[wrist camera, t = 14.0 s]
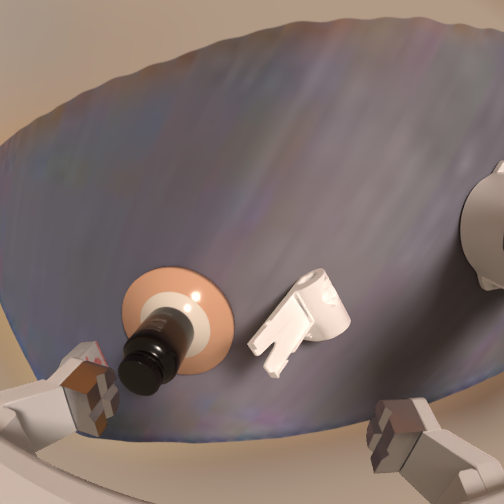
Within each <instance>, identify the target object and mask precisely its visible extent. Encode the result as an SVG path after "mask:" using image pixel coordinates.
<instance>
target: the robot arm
mask: <svg viewBox="0 0 504 504" xmlns="http://www.w3.org/2000/svg"><path fill="white" fill-rule="evenodd" d="M460 235H461V243H462V248H463V251H464V254H465V256H466V258H467V260H468V262H469V263H470V265H471V266H472V267H473V268H474V269H475V271H476V273H477V276H478V280H479V284H480V286H481V288H482V289H484V290H486V291H489V290H494V289H499V288H502V289H504V161H503V160H502V161H500V162H499V163H498V164H497V166H496V167H495V169H494V171H493V172H492V174H491V175H489V176H488V177H486V178H484V179H483V180H481V181H480V182H479V183H478V184H477V185H476V186H475V187H474V188H473V190H472V191H471V193H470V194H469V196H468V198H467V200H466V203H465V205H464V209H463V212H462V217H461V226H460ZM115 380H116V375H115V370H113V369H112V368H110V367H107V366H103V365H100V364H97V363H93V362H90V361H86V360H83V359H80V358H77V357H71V358H70V359H69V360H68V361H67V362H66V363H65V364H64V365H63V366H61V367H60V368H59V369H58V370H57V371H56V372H55V373H54V374H53V375H52V376H51V377H50V378H49V379H48V380H47V381H46V380H39V381H36V382H32V383H29V384H25V385H21V386H18V387H14V388H11V389H6V390H3V391H0V504H154V503H151V502H147V501H144V500H140V499H137V498H134V497H131V496H128V495H124V494H122V493H119V492H116V491H113V490H110V489H107V488H104V487H102V486H99V485H97V484H94V483H92V482H89V481H87V480H84V479H82V478H80V477H77V476H75V475H73V474H70V473H68V472H66V471H64V470H62V469H59V468H57V467H55V466H53V465H51V464H49V463H47V462H45V461H43V460H41V459H39V458H38V457H37V455H36V453H35V452H37V451H38V450H41V449H43V448H45V447H47V446H48V445H51V444H53V443H55V442H57V441H58V440H60V439H62V438H64V437H66V436H68V435H70V434H72V433H74V432H76V431H77V430H79V431H82V432H85V433H88V434H91V435H94V436H97V437H100V435H101V434H102V432H103V431H104V429H105V428H106V426H107V425H108V423H107V418H109V417H112V416H114V414H115V413H116V411H117V409H118V405H119V390H118V388H117V387H116V386H115V385H114V381H115ZM374 410H375V414H376V416H375V417H374V418H372V419H371V420H370V422H369V425H368V428H367V435H366V437H367V445H368V448H369V449H370V450H371V451H373V454H372V456H371V462H372V466H373V470H374V473H390V472H399V473H400V474H401V475H402V476H403V477H404V478H405V479H406V480H407V481H408V482H409V483H410V484H411V485H412V486H413V487H414V488H415V489H416V490H417V491H418V492H419V493H420V494H421V495H422V496H424V498H426V499H427V500H428V501H429V502H430V503H431V504H504V471H503V469H502V467H501V465H500V463H499V462H498V460H496V459H495V458H493V457H491V456H489V455H488V454H486V453H485V452H483V451H481V450H480V449H478V448H476V447H475V446H473V445H471V444H469V443H468V442H466V441H464V440H463V439H461V438H460V437H458V436H456V435H455V434H453V433H451V432H450V431H448V430H446V429H441V427H440V425H439V423H438V421H437V420H436V418H435V416H434V414H433V412H432V410H431V408H430V407H429V405H428V403H427V401H426V399H425V398H423V397H419V398H409V399H393V400H379V401H378V402H377V404H376V407H375V409H374Z"/></svg>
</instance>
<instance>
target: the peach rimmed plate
mask: <svg viewBox="0 0 504 504" xmlns="http://www.w3.org/2000/svg"><path fill="white" fill-rule="evenodd" d="M160 307H172V308H176V309H178V310H180V311H181V312H183V313H184V314H185V315H186V316H187V317H188V318H189V319H190V321H191V323H192V325H193V328H194V339H193V341H192V344H191V346H190V348H189V350H188V352H187V354H186V356H185V358H184V360H183V362H182V364H181V366H180V368H179V370H178V372H177V374H189V375H190V374H198V373H202V372H205V371H208V370H210V369H212V368H213V367H215V366H216V365H218V364H219V363H220V362H221V361H222V360H223V359H224V358H225V356H226V355H227V353H228V351H229V349H230V347H231V344H232V340H233V337H234V331H235V321H234V315H233V312H232V308H231V306H230V304H229V302H228V300H227V298H226V297H225V295H224V294H223V292H222V291H221V290H220V289H219V287H218V286H216V285H215V284H214V283H213V282H212V281H211V280H210V279H208V278H207V277H205V276H204V275H202V274H200V273H198V272H196V271H194V270H191V269H188V268H185V267H179V266H163V267H159V268H155V269H153V270H150V271H148V272H147V273H145V274H143V275H142V276H141V277H139V278H138V279H137V280H136V281H135V282H134V283H133V284H132V285H131V286H130V288H129V289H128V291H127V293H126V295H125V297H124V301H123V305H122V319H123V325H124V328H125V331H126V334H127V336H128V338H130V337H131V335H132V334H133V333H134V332H135V331H136V330H137V328H138V327H139V326H140V325H141V324H142V323H143V321H144V320H145V319H146V318H147V317H148V316H149V314H150V313H151V312H153V311H154V310H155V309H157V308H160Z"/></svg>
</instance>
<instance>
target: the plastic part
mask: <svg viewBox="0 0 504 504" xmlns="http://www.w3.org/2000/svg"><path fill="white" fill-rule="evenodd" d="M350 323H351V319H350V317H349V315H348V313H347V312H346V310H345V308H344V306H343V304H342V302H341V300H340V298H339V296H338V295H337V293H336V291H335V289H334V287H333V286H332V284H331V282H330V280H329V278H328V276H327V274H326V272H325V270H324V269H316V270H313V271H311V272H310V273H308V274H306V275H304V276H302V277H301V278H300V279H299V280H298V281H297V282H296V283H295V284H294V286H293V287H292V288H291V290H290V291H289V292H288V294H287V295H286V296H285V297H284V299H283V300H282V301H281V302H280V304H279V305H278V306H277V307H276V309H275V310H274V311H273V313H272V314H271V315H270V316H269V318H268V319H267V320H266V321H265V323H264V324H263V325H262V326H261V328H260V329H259V330H258V331H257V332H256V334H255V335H254V336H253V337H252V339H251V340H250V341H249V342H248V343H247V345H248V346H249V347H250V349H251V350H252V352H253V353H254V355H255V356H259V355H260V354H262V353H263V352H264V351H265V350H266V349H267V348H268V347H269V346H270V345H271V344H272V343H273V342H275V344H274V347H273V349H272V351H271V353H270V354H269V356H268V358H267V359H266V361H265V363H264V366H263V367H264V369H265V370H266V371H267V372H268V373H269V375H270V376H271V378H278V377H279V374H280V373H281V371H282V370H283V368H284V367H285V365H286V364H287V363H288V360H286V359H287V358H288V356H289V355H290V353H294V352H295V351H296V349H297V348H298V346H299V345H300V343H301V342H302V340H308V341H316V342H317V341H322V340H328V339H331V338H334V337H336V336H338V335H339V334H341V333H342V332H344V331H345V330H346V329H347V328H348V327H349V325H350Z"/></svg>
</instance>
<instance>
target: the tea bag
mask: <svg viewBox="0 0 504 504" xmlns="http://www.w3.org/2000/svg"><path fill="white" fill-rule="evenodd" d="M71 357H77V358H80V359H83V360H86V361H90V362H93V363H97V364H100V365H103V366H107V367H108V365H107V363H106V361H105V359H104V356H103V354H102V352H101V350H100V348H99V345H98V343H97V341H92V342H82V343H80V344H79V345H77V346H76V347H75V348H74V349H73V350H72V351H71V352H70V353H69V354H68V355H66V356H65V357H64V358H63V359H62V361H61V363H60V365H59V368H60V367H61V366H63V365H64V364H65V363H66V362H67V361H68V360H69V359H70V358H71ZM59 368H58V369H59ZM58 369H57V370H58Z"/></svg>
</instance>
